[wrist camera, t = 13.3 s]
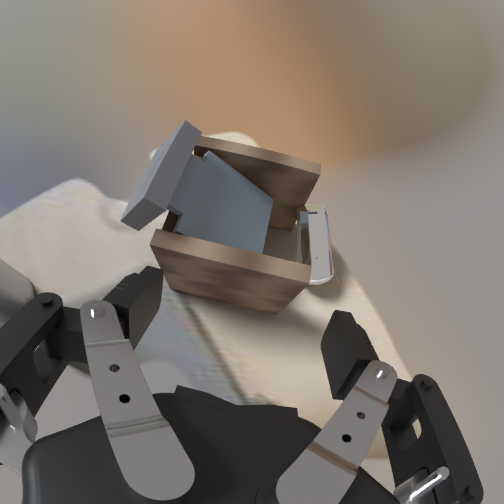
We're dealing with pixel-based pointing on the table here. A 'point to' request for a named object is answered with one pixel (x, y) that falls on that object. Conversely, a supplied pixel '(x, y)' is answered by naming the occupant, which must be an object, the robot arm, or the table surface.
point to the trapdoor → (200, 196)
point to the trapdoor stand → (234, 259)
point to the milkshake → (314, 243)
